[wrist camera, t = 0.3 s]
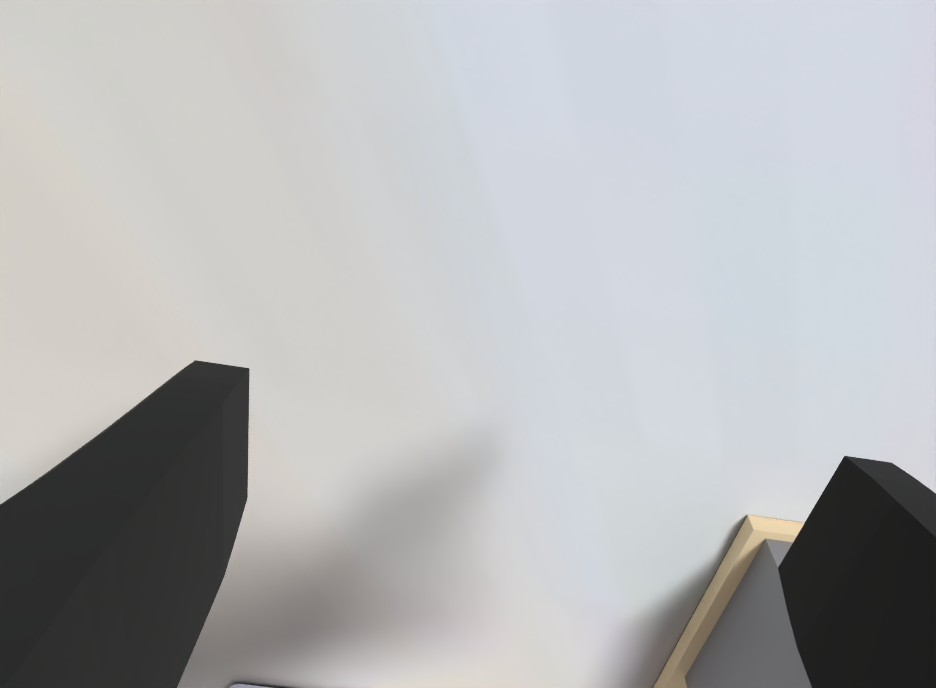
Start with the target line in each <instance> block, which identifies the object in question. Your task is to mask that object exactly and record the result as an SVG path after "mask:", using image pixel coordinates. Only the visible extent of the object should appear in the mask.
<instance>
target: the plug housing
mask: <svg viewBox="0 0 936 688" xmlns="http://www.w3.org/2000/svg"><path fill="white" fill-rule="evenodd" d="M792 544H793V542H787V541H780V540H773V539H766V538H765V540H764V542H763V543H762V545H761V547H760V548H759V550H758V552H757V554H756V555H755V557H754V559H753V561H752V562H751V564H750V566H749V567H748V569H747V571H746V573H745V574H744V576H743V578H742V579H741V581H740V583H739V585H738V586H737V588H736V590H735V592H734V593H733V595H732V597H731V598H730V600H729V602H728V604H727V605H726V607H725V609H724V610H723V612H722V614H721V616H720V617H719V619H718V621H717V623H716V624H715V626H714V628H713V629H712V631H711V633H710V635H709V636H708V638H707V640H706V641H705V643H704V645H703V647H702V648H701V650H700V652H699V654H698V655H697V657H696V659H695V660H694V662H693V664H692V666H691V667H690V669H689V671H688V673H687V674H686V676H685V681H686V685H687V688H812V686H811V684H810V681H809V678H808V676H807V673H806V671H805V668H804V665H803V663H802V660H801V657H800V654H799V652H798V649H797V646H796V642H795V638H794V634H793V631H792V627H791V623H790V619H789V615H788V612H787V607H786V603H785V598H784V594H783V589H782V585H781V580H780V576H779V571H778V567H779V565H780V564H781V562H782V560H783V559H784V557H785V555H786V554H787V552H788V550H789V549H790V547H791V545H792Z"/></svg>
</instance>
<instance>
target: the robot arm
mask: <svg viewBox="0 0 936 688" xmlns="http://www.w3.org/2000/svg"><path fill="white" fill-rule="evenodd" d="M248 420H249V368H243V367H236V366H229V365H223V364H216V363H209V362H202V361H194V362H192V363H191V364H190V365H188V366H187V367H185V368H184V369H183V370H181V371H180V372H179V373H177V374H176V375H175V376H173V377H172V378H171V379H169V380H168V381H167V382H166V383H164V384H163V385H162V386H161V387H159V388H158V389H157V390H155V391H154V392H153V393H152V394H150V395H149V396H148V397H147V398H145V399H144V400H143V401H141V402H140V403H139V404H138V405H136V406H135V407H134V408H133V409H131V410H130V411H129V412H127V413H126V414H125V415H123V416H122V417H121V418H120V419H118V420H117V421H116V422H114V423H113V424H112V425H111V426H109V427H108V428H107V429H105V430H104V431H103V432H101V433H100V434H99V435H97V436H96V437H95V438H93V439H92V440H91V441H89V442H88V443H86V444H85V445H84V446H82V447H81V448H80V449H78V450H77V451H76V452H74V453H73V454H72V455H70V456H69V457H67V458H66V459H65V460H63V461H62V462H61V463H59V464H58V465H57V466H55V467H54V468H53V469H51V470H50V471H48V472H47V473H46V474H44V475H43V476H42V477H40V478H39V479H37V480H36V481H35V482H33V483H32V484H30V485H29V486H27V487H26V488H24V489H23V490H21V491H20V492H18V493H17V494H16V495H14V496H13V497H11V498H10V499H8V500H7V501H5V502H4V503H2V504H1V505H0V688H177V686H178V684H179V681H180V679H181V677H182V674H183V672H184V670H185V667H186V665H187V663H188V660H189V658H190V656H191V653H192V651H193V649H194V646H195V644H196V642H197V639H198V637H199V635H200V632H201V630H202V628H203V625H204V623H205V620H206V618H207V616H208V613H209V611H210V609H211V606H212V604H213V602H214V599H215V597H216V594H217V592H218V590H219V587H220V585H221V582H222V580H223V578H224V575H225V572H226V568H227V565H228V562H229V558H230V555H231V552H232V549H233V545H234V542H235V539H236V535H237V532H238V528H239V525H240V521H241V518H242V514H243V511H244V508H245V504H246V501H247V487H248ZM778 571H779V576H780V580H781V585H782V589H783V594H784V598H785V603H786V607H787V612H788V615H789V619H790V623H791V627H792V631H793V634H794V638H795V642H796V646H797V649H798V652H799V654H800V657H801V660H802V663H803V665H804V668H805V671H806V673H807V676H808V678H809V681H810V684H811V686H812V688H936V494H935V493H934V492H933V491H931V490H930V489H929V488H927V487H926V486H925V485H923V484H922V483H921V482H919V481H918V480H916V479H915V478H914V477H912V476H911V475H909V474H908V473H906V472H905V471H903V470H902V469H900V468H899V467H897V466H896V465H894V464H893V463H889V462H882V461H876V460H869V459H862V458H855V457H848V456H844V458H843V459H842V461H841V463H840V465H839V466H838V468H837V470H836V471H835V473H834V475H833V476H832V478H831V480H830V481H829V483H828V485H827V486H826V488H825V490H824V491H823V493H822V495H821V496H820V498H819V500H818V502H817V503H816V505H815V507H814V508H813V510H812V512H811V513H810V515H809V517H808V518H807V520H806V522H805V523H804V525H803V527H802V528H801V530H800V532H799V533H798V535H797V537H796V538H795V540H794V542H793V544H792V545H791V547H790V549H789V550H788V552H787V554H786V555H785V557H784V559H783V560H782V562H781V564H780V565H779V567H778ZM229 688H272V687H263V686H255V685H246V684H235V685H232V686H230V687H229Z"/></svg>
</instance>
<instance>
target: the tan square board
mask: <svg viewBox="0 0 936 688" xmlns="http://www.w3.org/2000/svg"><path fill="white" fill-rule="evenodd" d="M803 525H804V523H799V522H792V521H785V520H778V519H771V518H765V517H758V516H751V515H748V516H747V517H746V519H745V521H744V523H743V525H742V526H741V528H740V530H739V532H738V534H737V536H736V537H735V539H734V541H733V543H732V545H731V547H730V548H729V550H728V552H727V554H726V556H725V558H724V559H723V561H722V563H721V565H720V567H719V568H718V570H717V572H716V574H715V576H714V578H713V579H712V581H711V583H710V585H709V587H708V589H707V590H706V592H705V594H704V596H703V598H702V599H701V601H700V603H699V605H698V607H697V609H696V610H695V612H694V614H693V616H692V618H691V620H690V621H689V623H688V625H687V627H686V629H685V631H684V632H683V634H682V636H681V638H680V640H679V641H678V643H677V645H676V647H675V649H674V651H673V652H672V654H671V656H670V658H669V660H668V662H667V663H666V665H665V667H664V669H663V671H662V672H661V674H660V676H659V678H658V680H657V682H656V683H655V685H654V687H653V688H687V685H686V681H685V676H686V674H687V673H688V671H689V669H690V667H691V666H692V664H693V662H694V660H695V659H696V657H697V655H698V654H699V652H700V650H701V648H702V647H703V645H704V643H705V641H706V640H707V638H708V636H709V635H710V633H711V631H712V629H713V628H714V626H715V624H716V623H717V621H718V619H719V617H720V616H721V614H722V612H723V610H724V609H725V607H726V605H727V604H728V602H729V600H730V598H731V597H732V595H733V593H734V592H735V590H736V588H737V586H738V585H739V583H740V581H741V579H742V578H743V576H744V574H745V573H746V571H747V569H748V567H749V566H750V564H751V562H752V561H753V559H754V557H755V555H756V554H757V552H758V550H759V548H760V547H761V545H762V543H763V542H764V540H765V538H766V539H773V540H780V541H787V542H794V540H795V538H796V537H797V535H798V533H799V532H800V530H801V528H802V527H803Z"/></svg>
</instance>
